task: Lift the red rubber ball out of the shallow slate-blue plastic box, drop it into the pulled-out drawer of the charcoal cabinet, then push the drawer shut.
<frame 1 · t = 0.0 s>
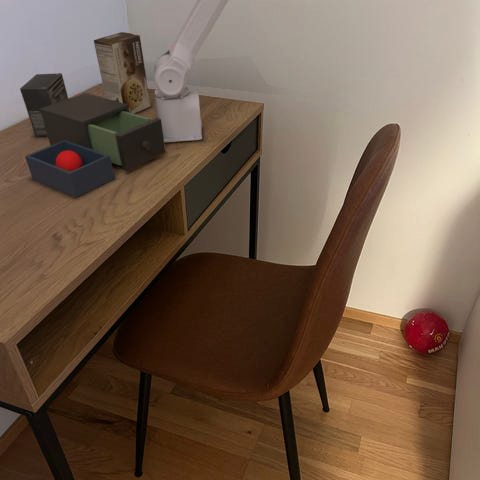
box: (73, 178, 91), on the table
small box: (55, 128, 111), on the table
coffee box: (129, 110, 119), on the table
ball: (69, 163, 89), point 3 cm above the table, touching box
drawer: (124, 138, 94), point 4 cm above the table, slide at 8.5 cm
cabinet: (93, 146, 102), on the table
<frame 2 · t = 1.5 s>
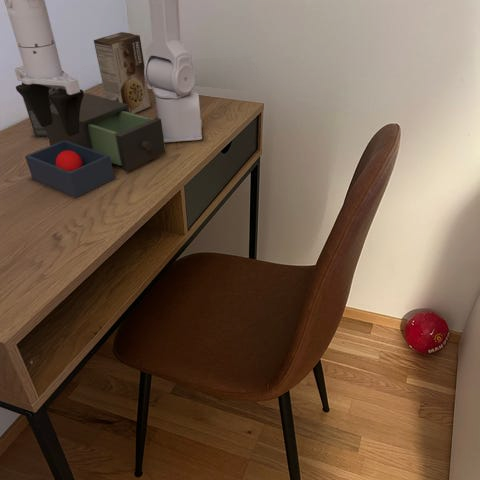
hand: (60, 129, 85), 9 cm above the table, tool pointing down, fingers open, 7 cm apart
nothing on the table moved.
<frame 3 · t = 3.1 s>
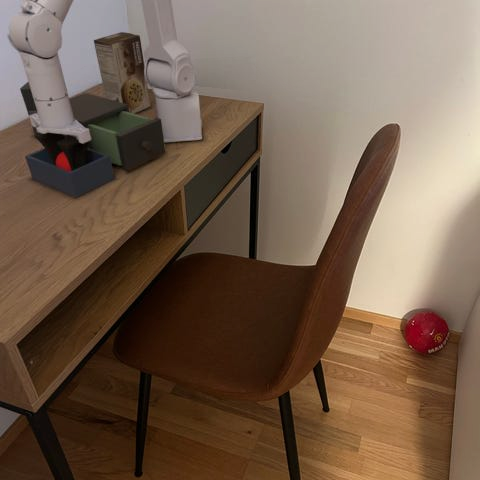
hand: (71, 171, 90), 2 cm above the table, tool pointing down, fingers closed on ball, 4 cm apart
ball: (69, 164, 89), point 3 cm above the table, touching box, gripper
everything else where it was.
when the fingers open (5 cm above the table, at t = 7.2 s): ball drops 3 cm, resting on drawer.
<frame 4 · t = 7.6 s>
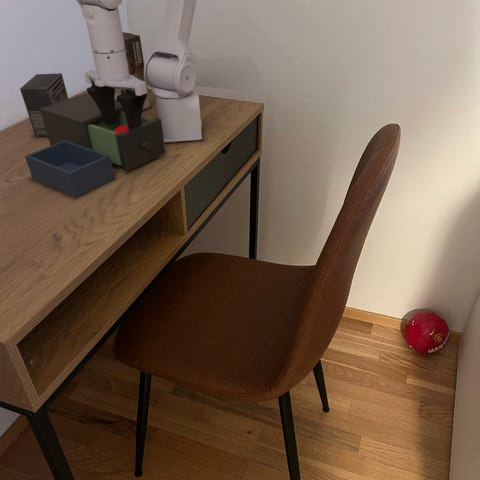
hand: (123, 127, 93), 6 cm above the table, tool pointing down, fingers open, 6 cm apart
ball: (124, 138, 94), point 4 cm above the table, touching drawer
drawer: (124, 138, 94), point 4 cm above the table, slide at 8.5 cm, touching ball
everything else where it was.
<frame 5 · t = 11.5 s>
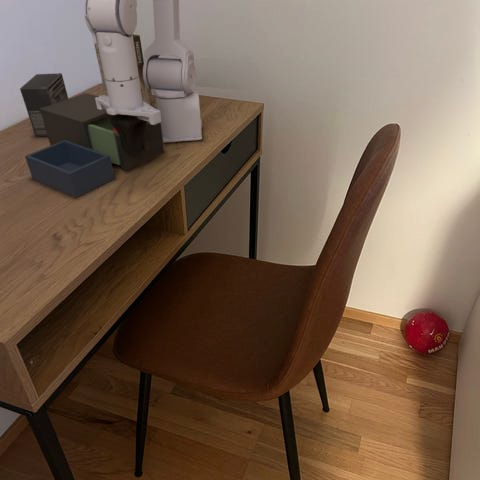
hand: (135, 154, 89), 4 cm above the table, tool pointing down, fingers closed
drawer: (123, 138, 95), point 4 cm above the table, slide at 8.2 cm, touching ball, gripper
everything else where it was.
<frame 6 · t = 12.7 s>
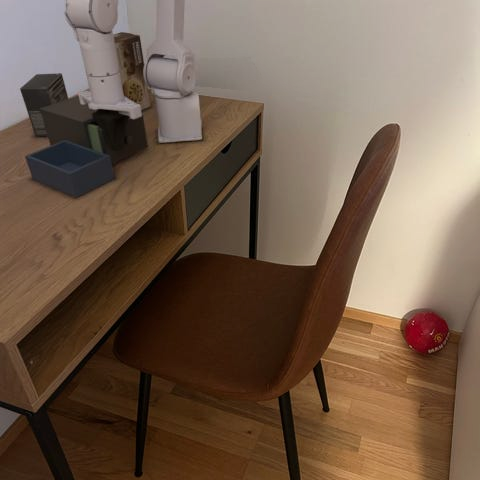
hand: (118, 149, 91), 4 cm above the table, tool pointing down, fingers closed
ball: (112, 134, 96), point 4 cm above the table, tilted 37°, touching drawer
drawer: (107, 133, 97), point 4 cm above the table, slide at 3.4 cm, touching ball, gripper
everything else where it was.
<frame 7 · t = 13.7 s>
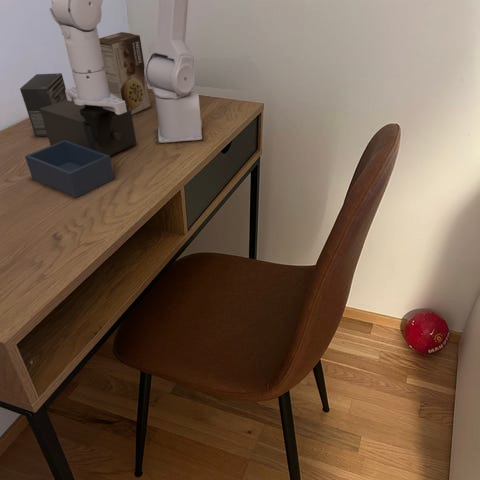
hand: (104, 144, 93), 4 cm above the table, tool pointing down, fingers closed
ball: (98, 130, 98), point 4 cm above the table, tilted 16°, touching drawer
drawer: (96, 129, 98), point 4 cm above the table, slide at 0.0 cm, touching ball, cabinet, gripper
everything else where it was.
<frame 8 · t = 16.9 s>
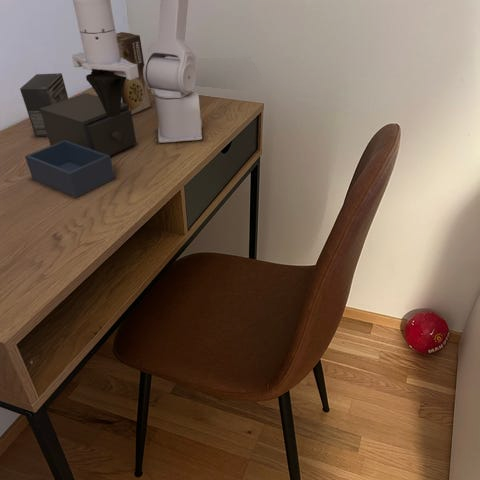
hand: (113, 115, 87), 10 cm above the table, tool pointing down, fingers closed
ball: (84, 125, 100), point 4 cm above the table, tilted 89°, touching drawer
drawer: (96, 129, 98), point 4 cm above the table, slide at 0.0 cm, touching ball, cabinet
everything else where it was.
at the end: ball inside the target area in the cabinet (1.2 cm from its centre), point 4.3 cm above the cabinet's base; drawer slide at 0.0 cm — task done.
